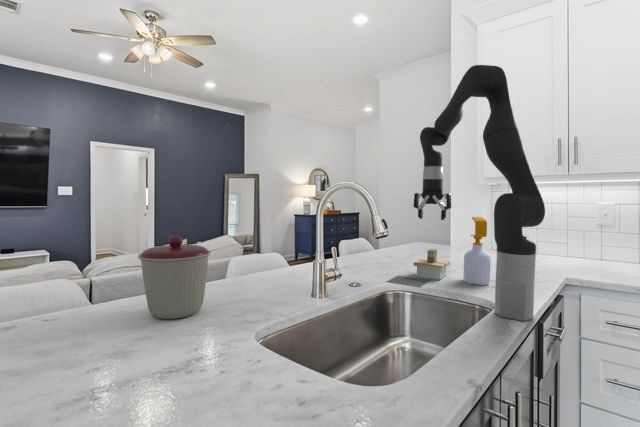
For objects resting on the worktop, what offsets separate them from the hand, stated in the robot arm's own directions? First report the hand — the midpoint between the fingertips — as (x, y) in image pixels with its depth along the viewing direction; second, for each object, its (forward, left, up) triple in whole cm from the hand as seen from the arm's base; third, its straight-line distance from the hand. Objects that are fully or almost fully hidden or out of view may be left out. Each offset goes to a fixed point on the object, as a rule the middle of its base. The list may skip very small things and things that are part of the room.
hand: (431, 219), depth 137 cm
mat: (-14, +4, -23) cm, 27 cm away
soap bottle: (+1, -17, -23) cm, 29 cm away
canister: (-84, +44, -23) cm, 98 cm away
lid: (-1, -1, -18) cm, 18 cm away
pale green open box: (-1, -1, -23) cm, 23 cm away
